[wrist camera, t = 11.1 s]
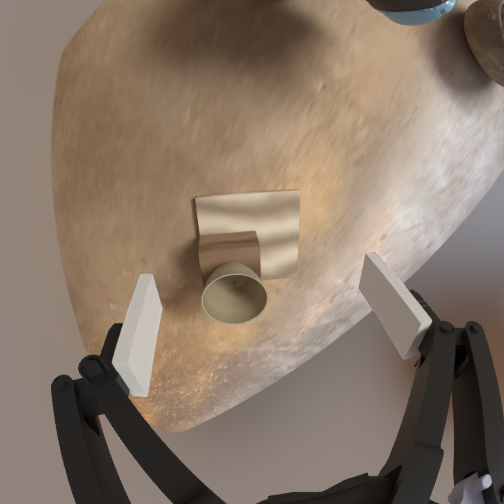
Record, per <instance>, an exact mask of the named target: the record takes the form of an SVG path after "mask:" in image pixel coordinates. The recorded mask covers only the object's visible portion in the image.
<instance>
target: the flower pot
mask: <svg viewBox="0 0 504 504" xmlns="http://www.w3.org/2000/svg"><path fill="white" fill-rule="evenodd" d="M235 281H236V282H235ZM267 303H268V292H267V290H266V288H265V286H264V284H263V282H262V281H261V279H260V278H259V277H258V276H257V274H256V273H255V272H253V271H252V270H251V269H250V268H248V267H247V266H245V265H243V264H240V263H236V262H230V263H226V264H223V265H221V266H220V267H218V268H217V269H216V270H215V271H214V272H213V273H212V274H211V276H210V277H209V279H208V280H207V282H206V284H205V287H204V289H203V293H202V297H201V304H202V308H203V310H204V312H205V313H206V314H207V315H208V316H209V317H210V318H211V319H213V320H214V321H216V322H218V323H221V324H226V325H241V324H245V323H248V322H250V321H252V320H254V319H256V318H257V317H258V316H260V315H261V314H262V313H263V311H264V310H265V308H266V306H267Z"/></svg>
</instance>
